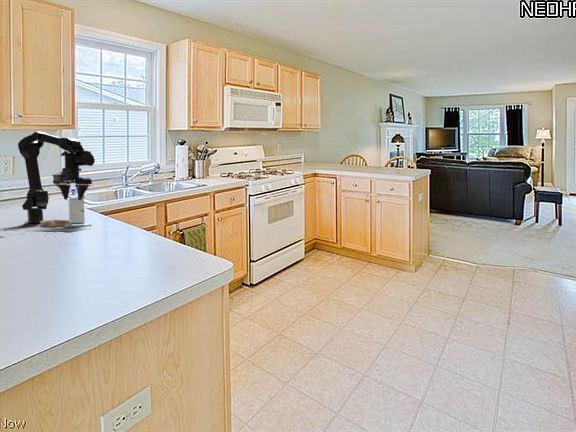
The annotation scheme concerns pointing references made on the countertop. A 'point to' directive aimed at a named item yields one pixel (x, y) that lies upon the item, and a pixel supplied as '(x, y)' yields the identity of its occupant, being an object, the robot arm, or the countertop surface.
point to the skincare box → (76, 210)
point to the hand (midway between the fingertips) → (72, 199)
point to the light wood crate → (54, 223)
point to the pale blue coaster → (77, 225)
